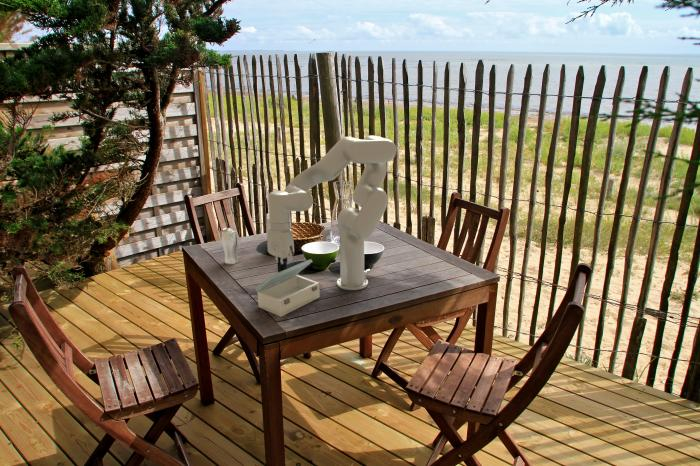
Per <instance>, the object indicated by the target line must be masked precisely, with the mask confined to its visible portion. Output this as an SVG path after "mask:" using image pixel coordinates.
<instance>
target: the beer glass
mask: <svg viewBox="0 0 700 466" xmlns="http://www.w3.org/2000/svg"><path fill="white" fill-rule="evenodd" d="M220 232H221V244H222V248H223V251H224V264H226V265H235V264H238V263H239V257H238V246H239V237H238V231H237V228H235V227H225V228H223V229H222V230H221V231H220Z"/></svg>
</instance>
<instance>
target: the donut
mask: <svg viewBox="0 0 700 466" xmlns="http://www.w3.org/2000/svg"><path fill="white" fill-rule="evenodd" d="M331 228H332V227H325V228H324V229H322V231H321V232H320V234H321V235H323V238H322V241H329V240H328V239H327V237H328V236H329V235H330V231H331ZM320 234H319V235H320Z"/></svg>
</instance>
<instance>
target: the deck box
mask: <svg viewBox="0 0 700 466" xmlns="http://www.w3.org/2000/svg"><path fill="white" fill-rule="evenodd" d="M256 292H257V304H258V308H260V309H263V310H265V311H267V312H270V313H271V314H274V315H276V316H278V317H284V316H285V315H287V314H289V313H291V312H293V311H295V310H297V309H299V308H301V307H303V306H305V305H307V304H309V303H311V302H314V301H315V300H317V299H319V298H320V297H321V296H320V294H321V293H320V282H318V281H315V280H312V279H309V278H308V277H304V276H301V275H299V274H296V275H294V276H291V277H289V278H287V279H285V280H282V281H280V282H278V283H275V284H273V285H271V286H268V287H266V288H264V289H261V290H259V291H256Z"/></svg>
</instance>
